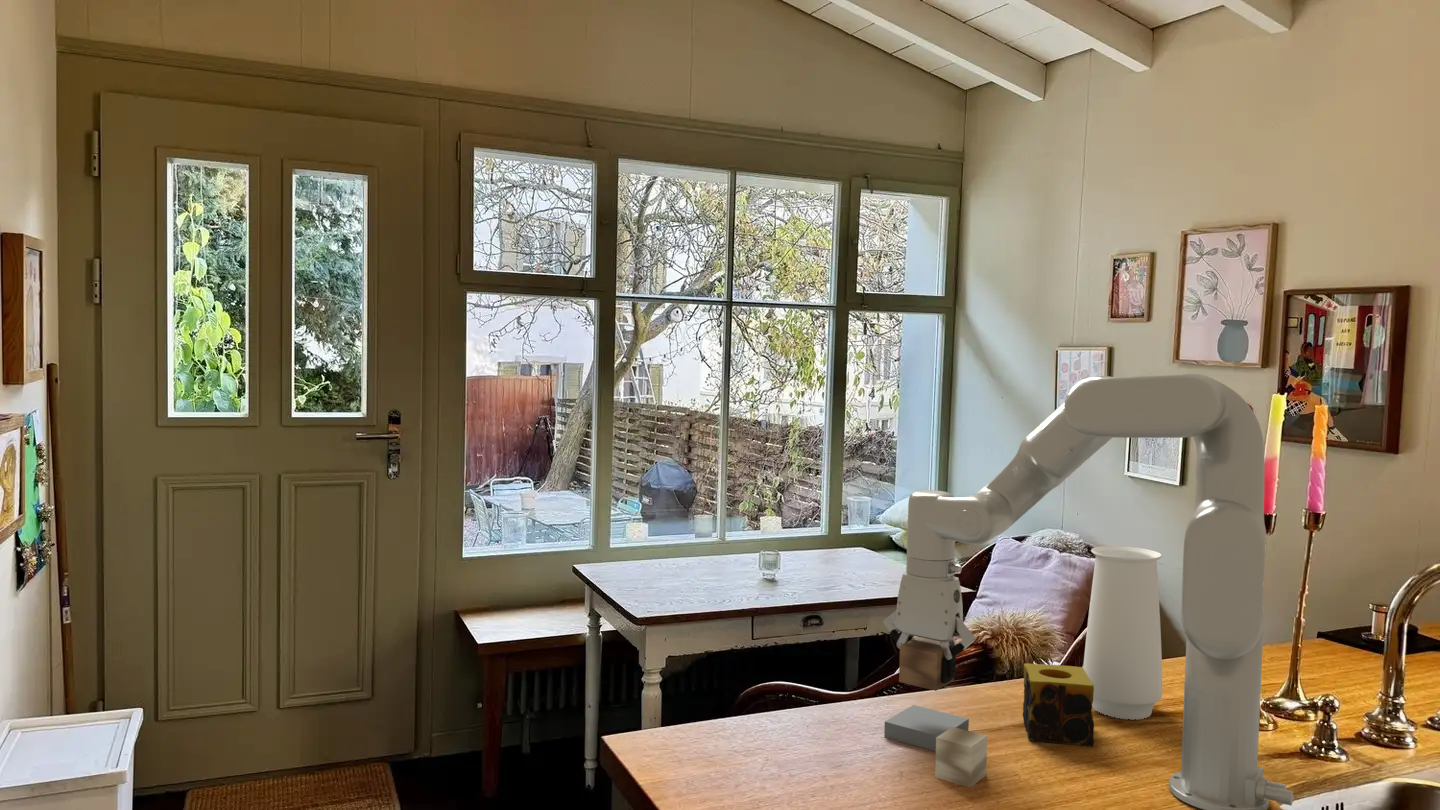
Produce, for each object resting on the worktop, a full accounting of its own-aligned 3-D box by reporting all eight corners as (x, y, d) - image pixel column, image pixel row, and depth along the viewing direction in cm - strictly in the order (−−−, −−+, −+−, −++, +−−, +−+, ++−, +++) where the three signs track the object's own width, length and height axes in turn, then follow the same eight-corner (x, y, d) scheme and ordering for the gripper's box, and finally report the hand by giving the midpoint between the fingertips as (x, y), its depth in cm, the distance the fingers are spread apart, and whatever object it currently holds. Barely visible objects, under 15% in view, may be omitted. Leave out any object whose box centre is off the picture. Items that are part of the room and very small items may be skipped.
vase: (1171, 725, 165) (1176, 561, 164) (1090, 720, 167) (1095, 557, 166) (1149, 699, 178) (1154, 546, 176) (1075, 694, 180) (1079, 543, 178)
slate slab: (968, 733, 160) (968, 718, 160) (941, 752, 153) (941, 736, 152) (913, 719, 167) (913, 704, 166) (884, 736, 159) (884, 721, 159)
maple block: (986, 775, 145) (987, 735, 144) (970, 788, 140) (971, 747, 140) (951, 765, 148) (952, 726, 148) (935, 777, 144) (936, 737, 143)
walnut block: (953, 680, 160) (954, 644, 159) (935, 690, 155) (937, 653, 154) (917, 671, 164) (918, 636, 163) (898, 681, 159) (900, 645, 158)
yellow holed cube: (1094, 748, 155) (1096, 686, 155) (1028, 742, 157) (1029, 681, 157) (1083, 724, 165) (1085, 666, 165) (1021, 719, 167) (1023, 661, 167)
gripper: (990, 571, 156) (986, 682, 157) (893, 556, 167) (890, 659, 167) (970, 579, 150) (966, 694, 151) (871, 563, 161) (868, 670, 162)
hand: (926, 675), depth 159 cm, fingers closed on walnut block, 6 cm apart
